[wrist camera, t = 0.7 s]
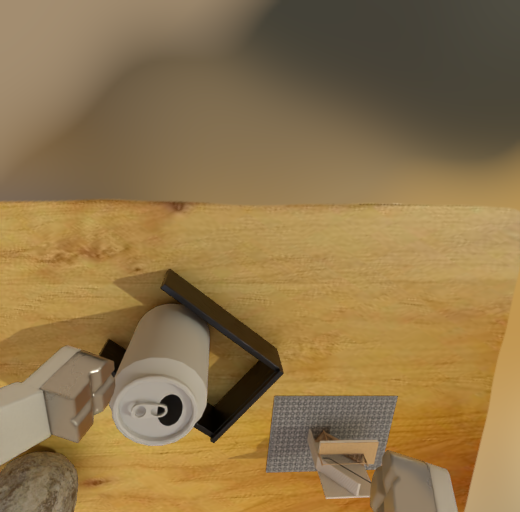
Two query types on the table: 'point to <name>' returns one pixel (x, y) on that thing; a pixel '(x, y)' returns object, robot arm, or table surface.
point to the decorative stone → (39, 484)
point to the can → (162, 377)
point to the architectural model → (331, 439)
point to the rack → (269, 363)
